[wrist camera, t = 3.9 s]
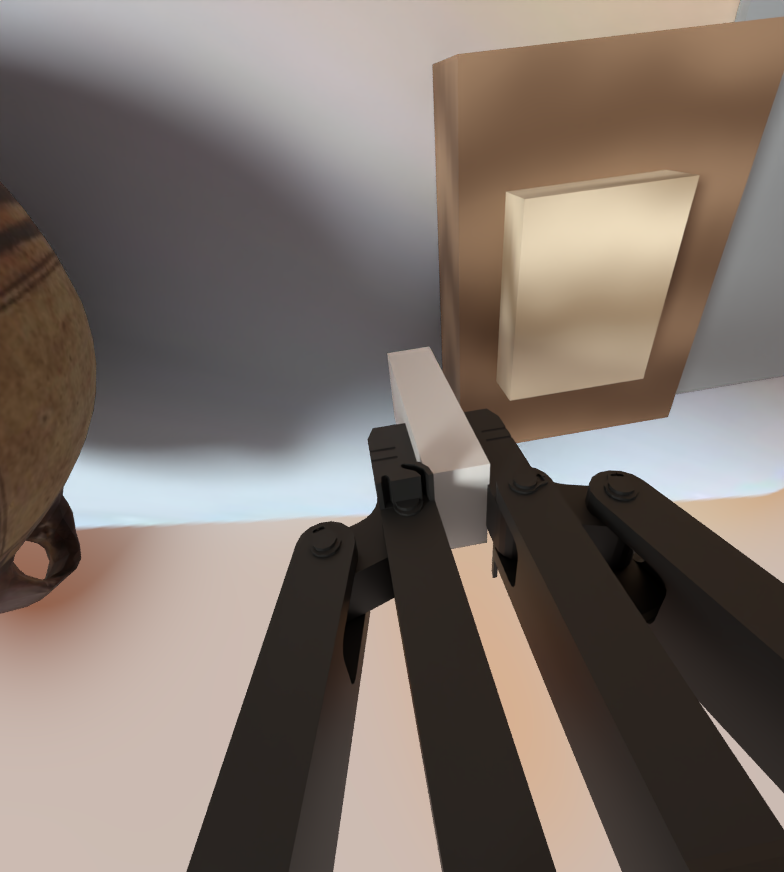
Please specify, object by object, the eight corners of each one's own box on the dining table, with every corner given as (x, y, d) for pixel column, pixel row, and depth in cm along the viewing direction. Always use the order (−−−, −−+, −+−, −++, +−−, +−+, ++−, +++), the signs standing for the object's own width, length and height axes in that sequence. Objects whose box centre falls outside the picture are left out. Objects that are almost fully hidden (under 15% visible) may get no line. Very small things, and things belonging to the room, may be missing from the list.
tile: (506, 191, 18) (524, 199, 17) (666, 169, 19) (699, 175, 17) (496, 381, 24) (509, 400, 22) (621, 361, 24) (643, 378, 22)
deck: (432, 64, 19) (457, 54, 15) (722, 30, 19) (802, 14, 16) (444, 415, 29) (460, 452, 26) (629, 384, 30) (667, 417, 27)
